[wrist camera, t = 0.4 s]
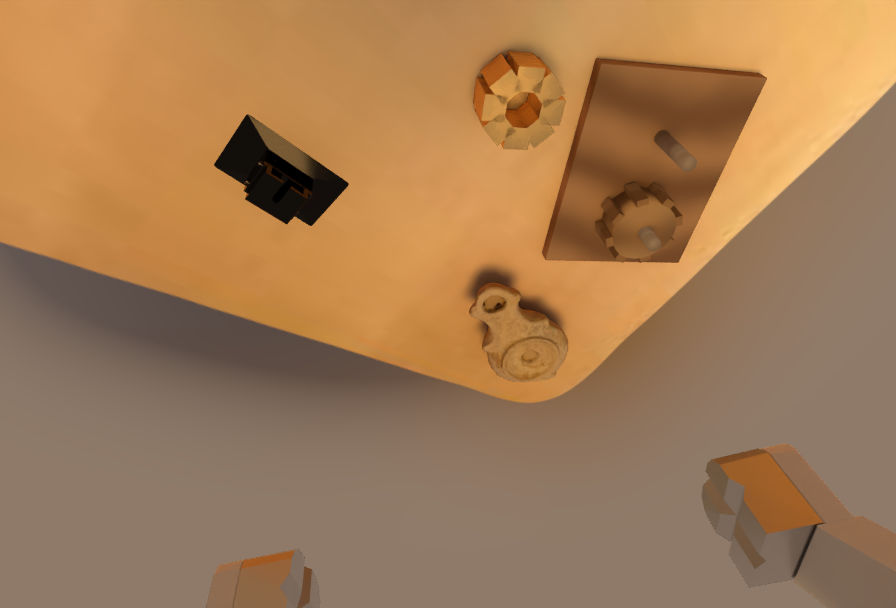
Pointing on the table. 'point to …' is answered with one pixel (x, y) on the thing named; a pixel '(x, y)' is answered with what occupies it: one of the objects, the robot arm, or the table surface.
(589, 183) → the gear board
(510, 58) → the brass gear
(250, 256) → the table surface
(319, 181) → the black stand
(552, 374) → the oil lamp
